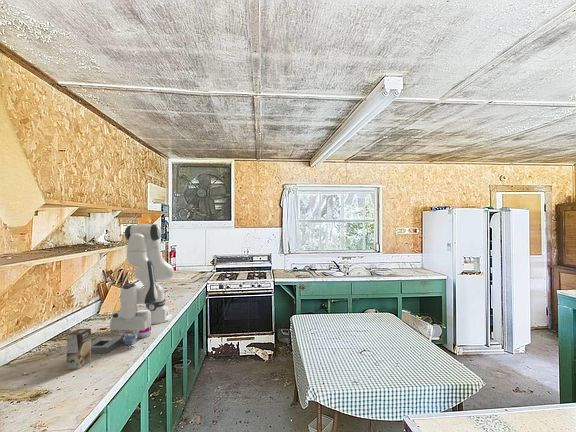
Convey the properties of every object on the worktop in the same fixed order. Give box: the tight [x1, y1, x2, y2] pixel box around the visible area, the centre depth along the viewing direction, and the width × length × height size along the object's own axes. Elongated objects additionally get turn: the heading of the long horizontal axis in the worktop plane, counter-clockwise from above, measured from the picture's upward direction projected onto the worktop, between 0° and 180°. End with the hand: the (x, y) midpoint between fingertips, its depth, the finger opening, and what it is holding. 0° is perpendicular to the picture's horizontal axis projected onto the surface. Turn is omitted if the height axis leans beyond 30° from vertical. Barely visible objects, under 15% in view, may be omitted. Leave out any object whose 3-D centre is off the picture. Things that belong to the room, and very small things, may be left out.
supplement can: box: [137, 308, 152, 339], centre depth 202 cm, size 8×8×15 cm
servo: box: [123, 332, 138, 346], centre depth 191 cm, size 9×4×6 cm, turn 179°
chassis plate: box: [91, 336, 125, 354], centre depth 184 cm, size 16×14×3 cm
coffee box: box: [66, 328, 92, 370], centre depth 162 cm, size 9×6×16 cm
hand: (128, 337), depth 191 cm, fingers open, 6 cm apart
